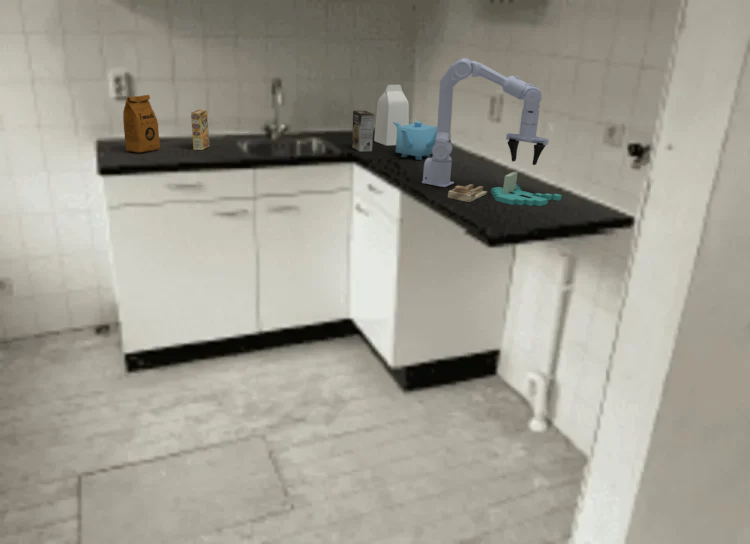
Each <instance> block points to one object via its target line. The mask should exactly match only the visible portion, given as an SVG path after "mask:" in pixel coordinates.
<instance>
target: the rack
mask: <svg viewBox="0 0 750 544" xmlns="http://www.w3.org/2000/svg"><path fill="white" fill-rule="evenodd" d="M464 187H470V188H469V192H472V193H471V194H469V195H468V194H463V193H458V192H454V191H455V188H453V189H450V190H448V193H447V198H448V199H451V200H452V199H453V200H456V201H461V202H467V203H471V202H473V201H475V200H476V199H478V198H481V197H483V196H485V195H487V194H488V191H487V190H484V186H483V185H480V186H479V185H478V186H476V187H475V188H474V184H471V183H470V184H468V185H466V186H464Z"/></svg>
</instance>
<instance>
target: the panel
mask: <svg viewBox="0 0 750 544" xmlns="http://www.w3.org/2000/svg"><path fill="white" fill-rule="evenodd" d="M517 179H518V172H517V171H512V172H510V173H508V174H506V175H505V176H504V179H503V180H504V181H503V187H502V188H503V193H505V194H507V193H509V192H511V191H513V190H515V187H516V184H517Z"/></svg>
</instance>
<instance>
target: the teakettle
mask: <svg viewBox="0 0 750 544" xmlns="http://www.w3.org/2000/svg"><path fill="white" fill-rule="evenodd" d="M393 123H394V124H395V125H396V126H397V137H396V145H395V154H397V153H398V154H401V156H400V157H401V158H408V157H409V156H412V157H415V160H416V161H422V160H423V157H424V158H432V156H431V154H432V149H433V147H434V146H435V141H436V135H437V126H435V125H430V124H423V122H422V121H414V122H413V123H409V124H408V125H404V126H401V125H400V124H399V123H396V122H393Z"/></svg>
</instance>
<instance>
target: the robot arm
mask: <svg viewBox="0 0 750 544" xmlns="http://www.w3.org/2000/svg"><path fill="white" fill-rule="evenodd" d="M470 75H471V77H472V78H475V77H482V78H485V80H488V81H490V82H492V83H495V84H497V85H499V86H501V87H502V91H503V92H504V93H506V94H508V95H510V96H512V97H514V98H516V99H518V100H520V101H521V100H523V108H522V110H521V117H520V124H519V125H520V126H519V133H510V132H508V133H506V137H505V140H508V141H507V145H508V149H509V152H510V155H511V162H516V160H517V155H518V152H517V151H518V147H519V144H520V142H524V143H530V144H533V158H532V165H533V166H536V165H537V164H538V160H539V158H540V155H541V154H542V152H543V151H544V149H545V147H547V146H548V145H549V138H545V137H542V136H537V131H538V123H539V116H540V106H541V105H540V103H541V102H542V99H543V97H542V91H541V90H540V89H539V88H538V87H537V86H536V85H533V84H532V83H531V82H529V83H527V82H525V81H524V80H521V79H520V76H518V75H515V76H514V75H510V76H505V75H504V74H501V73H500V72H497V71H496V70H494V69H493V68H491V67H489V66H487V65H485V64H484V63H481V62H479V61H476V60H471V59H470V58H467V57H463V58H459V59H458V60H457V61H455V62H453V63H452V64H451V65H450V66H449V68H448V69H447V71H445V72H444V75H443V76H442V77H441V79H440V80H439V81H440V82H439V92H438V93H439V95H438V106H437V107H438V109H437V112H438V113H437V126H436V127H437V135H436V141H435V146H434V147H433V149H432V153H431V154H432V156H431V157H426V159H425V161H424V164H423V172H422V174H423V175H422V181H421V183H422V184H425V185H432V186H436V187H442V188H447V187H448V186H451V185H453V184H455V182H454V181H451V172H452V162H453V158H452V157H451V153H452V152H453V149H454V147H453V142H452V139H451V137H452V136H451V134H452V133H451V129H452V128H451V127H452V126H451V125H452V116H453V115H452V114H453V113H452V111H453V101H454V100H453V97H454V87H455V86H456V85H457V84H458V83H460V81H463V80H465V79H467V78H468V77H469V76H470Z"/></svg>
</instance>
